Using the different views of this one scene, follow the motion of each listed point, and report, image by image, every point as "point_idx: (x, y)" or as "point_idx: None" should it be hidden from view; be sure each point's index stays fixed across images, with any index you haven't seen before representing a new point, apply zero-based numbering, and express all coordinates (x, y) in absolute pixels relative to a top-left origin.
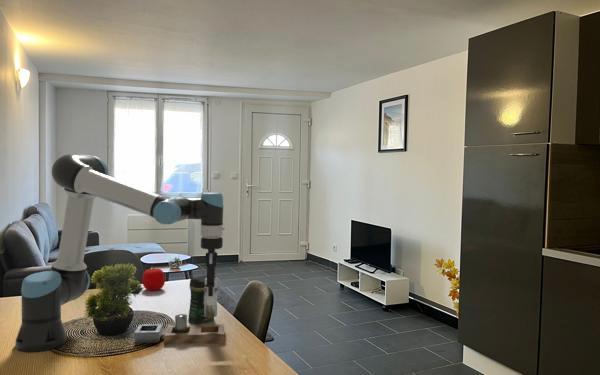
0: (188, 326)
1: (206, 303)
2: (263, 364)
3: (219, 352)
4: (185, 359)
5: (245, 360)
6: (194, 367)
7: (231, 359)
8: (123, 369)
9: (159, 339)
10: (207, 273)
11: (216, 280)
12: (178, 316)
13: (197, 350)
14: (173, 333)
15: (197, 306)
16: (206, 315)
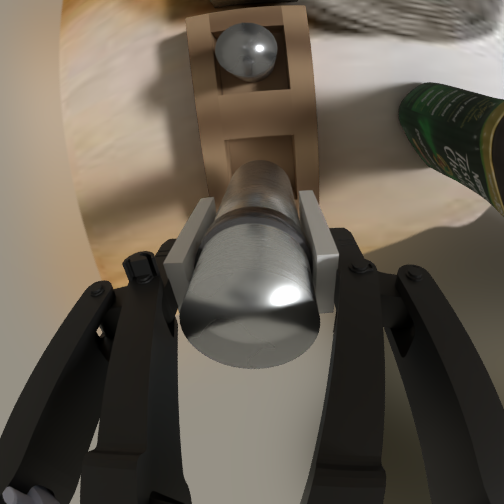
0: (294, 81)
1: (199, 202)
2: None
3: (168, 202)
4: (111, 121)
5: None
6: (77, 160)
7: (132, 237)
8: (61, 12)
9: (229, 1)
10: (36, 374)
11: (224, 358)
12: (234, 38)
13: (174, 136)
14: (207, 42)
15: (439, 118)
16: (232, 176)
